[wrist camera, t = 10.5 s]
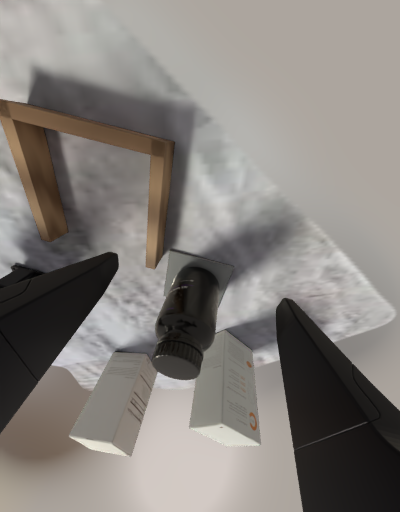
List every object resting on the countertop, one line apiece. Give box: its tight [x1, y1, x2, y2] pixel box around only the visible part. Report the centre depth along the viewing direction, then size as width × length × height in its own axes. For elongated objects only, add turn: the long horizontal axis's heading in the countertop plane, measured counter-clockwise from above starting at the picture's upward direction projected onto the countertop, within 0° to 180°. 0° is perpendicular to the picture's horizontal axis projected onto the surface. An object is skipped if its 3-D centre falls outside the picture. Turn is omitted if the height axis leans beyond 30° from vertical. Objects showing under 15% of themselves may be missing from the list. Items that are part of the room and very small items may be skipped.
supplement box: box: [69, 352, 157, 457], centre depth 38 cm, size 9×9×15 cm
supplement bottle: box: [152, 267, 220, 380], centre depth 22 cm, size 7×7×12 cm
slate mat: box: [164, 250, 234, 306], centre depth 27 cm, size 9×9×1 cm
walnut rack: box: [0, 99, 175, 269], centre depth 20 cm, size 14×15×3 cm
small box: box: [189, 330, 261, 446], centre depth 29 cm, size 8×6×13 cm
